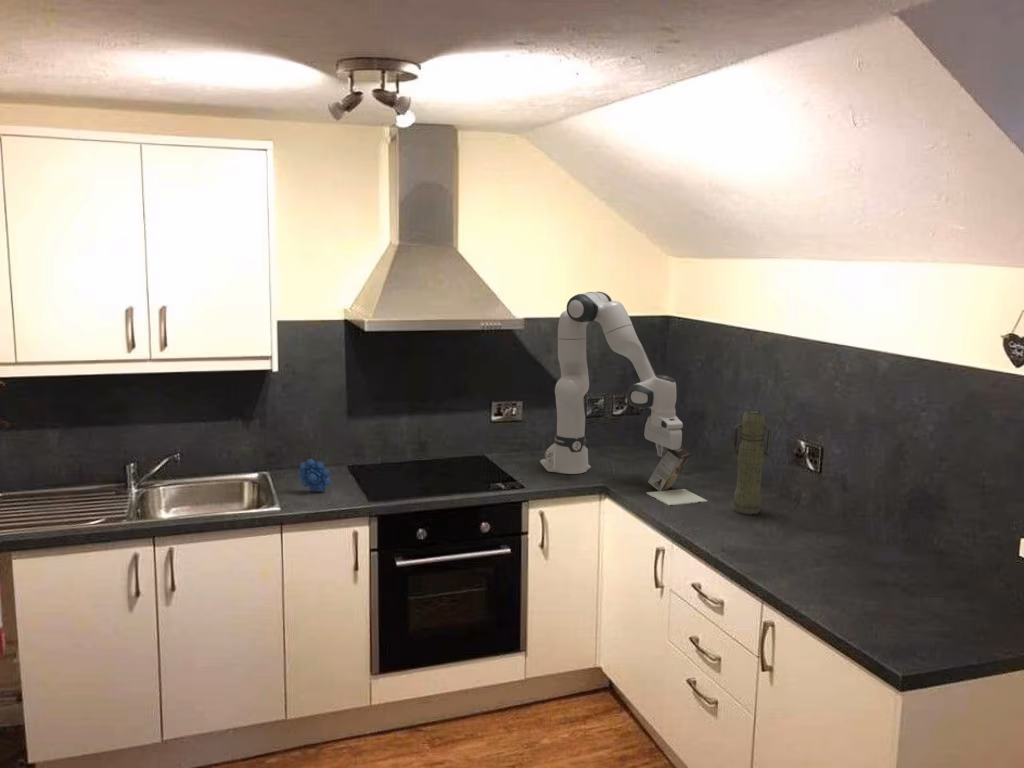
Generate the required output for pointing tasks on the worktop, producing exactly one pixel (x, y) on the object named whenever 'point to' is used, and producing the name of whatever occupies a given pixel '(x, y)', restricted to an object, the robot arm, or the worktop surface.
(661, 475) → the coffee box
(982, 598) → the worktop surface
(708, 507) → the worktop surface
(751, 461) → the thermos
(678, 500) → the mat
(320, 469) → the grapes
